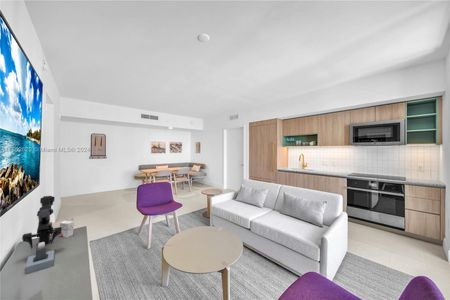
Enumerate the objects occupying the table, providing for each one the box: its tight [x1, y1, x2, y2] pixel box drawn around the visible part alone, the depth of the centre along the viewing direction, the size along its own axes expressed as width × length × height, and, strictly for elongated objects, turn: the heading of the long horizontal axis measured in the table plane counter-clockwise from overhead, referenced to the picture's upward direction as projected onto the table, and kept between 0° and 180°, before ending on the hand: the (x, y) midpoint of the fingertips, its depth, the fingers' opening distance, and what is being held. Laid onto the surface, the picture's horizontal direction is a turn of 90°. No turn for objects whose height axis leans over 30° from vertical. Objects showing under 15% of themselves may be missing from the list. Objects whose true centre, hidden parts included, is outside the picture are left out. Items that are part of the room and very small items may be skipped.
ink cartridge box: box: [58, 216, 75, 238], centre depth 148 cm, size 9×5×15 cm, turn 84°
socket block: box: [24, 249, 55, 275], centre depth 111 cm, size 14×12×4 cm
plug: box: [35, 242, 48, 262], centre depth 111 cm, size 4×4×12 cm
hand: (41, 246), depth 117 cm, fingers open, 9 cm apart
